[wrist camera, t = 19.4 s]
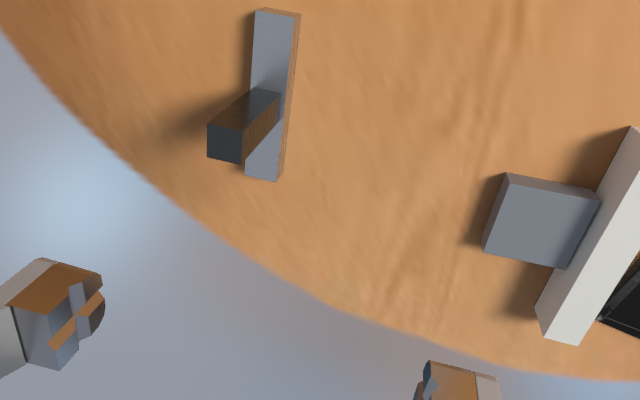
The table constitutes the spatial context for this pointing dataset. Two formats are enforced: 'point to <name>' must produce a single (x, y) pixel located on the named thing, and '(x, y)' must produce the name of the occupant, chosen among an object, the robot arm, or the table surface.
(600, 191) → the bar
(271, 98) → the upside-down t block
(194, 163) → the table surface
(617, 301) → the phone
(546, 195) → the slate tile
